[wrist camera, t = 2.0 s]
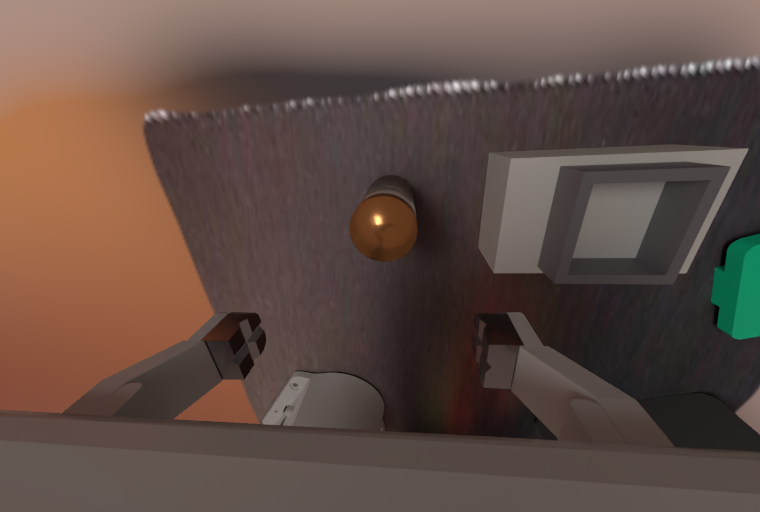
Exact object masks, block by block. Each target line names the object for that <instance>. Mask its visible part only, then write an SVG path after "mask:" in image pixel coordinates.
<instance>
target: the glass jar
mask: <svg viewBox="0 0 760 512" xmlns="http://www.w3.org/2000/svg"><path fill="white" fill-rule="evenodd" d="M417 231H418V229H417V219H416V210H415V201H414V194H413V190H412V188H411V186H410V185H409V184H408V182H407V181H405V180H404V179H403V178H401V177H398V176H394V175H387V176H383V177H380V178H379V179H377V180H376V181H375V182H374V183H373V184H372V185H371V187H370V188H369V190H368V191H367V193H366V194H365V196H364V198H363V199H362V201H361V202H360V204H359V205H358V207H357V208H356V210H355V212H354V213H353V215H352V218H351V221H350V236H351V239H352V241H353V243H354V245H355V247H356V248H357V249H358V250H359V251H360V252H361V253H362V254H363V255H365V256H366V257H368V258H370V259H373V260H376V261H392V260H396V259H398V258H401V257H402V256H404V255H405V254H406V253H408V252H409V251H410V249H411V248H412V247H413V245H414V243H415V241H416V238H417Z"/></svg>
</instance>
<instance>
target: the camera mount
mask: <svg viewBox="0 0 760 512" xmlns="http://www.w3.org/2000/svg"><path fill="white" fill-rule="evenodd" d="M711 302H712V303H713V304H715V305H717V306H719V307H720V308H719V315H718V323H717V327H718V328H719V329H720V330H722V331H724V332H725V333H727V334H728V335H730V336H731V337H733V338H735V339H746V338H751V337H757V336H760V234H756V235H752V236H749V237H745V238H741V239H738V240H736V241H734V242H733V243H732V244H731V245H730V246H729V247H728V249H727V255H726V262H725V266H720V267H716V268H715V273H714V281H713V290H712V299H711Z"/></svg>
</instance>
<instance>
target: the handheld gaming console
mask: <svg viewBox="0 0 760 512" xmlns="http://www.w3.org/2000/svg"><path fill="white" fill-rule="evenodd" d="M637 402H638V403H639V404H640V405H641V406H642V408H643V409H644V410H645V411H646V412H647V414H648V415H649V416H650V417H651V418H652V420H653V421H654V422H655V423H656V424H657V426H658V427H659V428H660V429H661V430H662V432H663V433H664V434H665V435H666V436H667V438H668V439H669V440H670V441H671V442H672V444H673V445H674V446H675V447H684V448H702V449H720V450H739V451H758V452H760V435H759V434H758V433H757V432H756V431H755V430H753V429H752V428H751V427H750V426H748V424H746V423H745V422H744V421H743V420H742V419H740V418H739V417H738V416H737V415H736V414H735V413H734V412H733V411H732V410H731V409H730V408H729V407H728V406H727V405H725V404H724V403H723V402H722V401H721V400H720V399H717V398H715V397H712V396H709V395H707V394H704V393H689V394H680V395H673V396H666V397H660V398H653V399H646V400H639V401H637ZM534 427H535V431H536V433H537V436H538V438H539V440H557V439H558V438H557V437H556V436H555V435H554V434H553V433H552V432H551V431H550V430H549V429H548V428H547V427H546V426H545V425H544V424H543V423H542V422H541V421H540V420H539V419H538V418H536V421H535V424H534Z"/></svg>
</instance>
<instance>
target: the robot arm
mask: <svg viewBox="0 0 760 512" xmlns="http://www.w3.org/2000/svg"><path fill="white" fill-rule="evenodd" d="M260 323H261V320H260V317H259V315H258V314H256V313H245V312H219V313H216V314H215V315H213V316H212V317H211V318H210V319H209V320H208V321H207V322H206V323H205V324H204V325H203V326H202V327H201V328H200V329H199V330H198V331H197V332H196V333H194V334H193V335H192V336H191V337H190V338H189V339H188V340H187V341H182V342H179V343H177V344H175V345H173V346H171V347H169V348H167V349H165V350H163V351H161V352H159V353H157V354H155V355H153V356H151V357H149V358H147V359H145V360H143V361H141V362H138V363H136V364H134V365H132V366H130V367H128V368H126V369H124V370H122V371H120V372H118V373H116V374H114V375H112V376H110V377H108V378H106V379H104V380H102V381H101V382H99V383H98V384H97V385H96V386H95V387H93V388H92V389H91V390H90V391H88V392H87V393H86V394H85V395H84V396H82V397H81V398H80V399H79V400H77V401H76V402H75V403H74V404H73V405H71V406H70V407H69V408H68V409H66V410H65V411H64V412H63V413H47V412H29V411H28V412H27V411H10V410H0V512H760V452H758V451H739V450H720V449H702V448H684V447H675V446H674V445H673V444H672V442H671V441H670V440H669V439H668V438H667V436H666V435H665V434H664V433H663V432H662V430H661V429H660V428H659V427H658V426H657V424H656V423H655V422H654V421H653V420H652V418H651V417H650V416H649V415H648V414H647V412H646V411H645V410H644V409H643V408H642V406H641V405H640V404H639V403H638V402H637V400H635V399H633V398H632V397H630V396H629V395H627V394H625V393H624V392H622V391H620V390H619V389H617V388H616V387H614V386H612V385H611V384H609V383H607V382H606V381H604V380H603V379H601V378H599V377H598V376H596V375H594V374H593V373H591V372H590V371H588V370H586V369H585V368H583V367H581V366H580V365H578V364H577V363H575V362H573V361H572V360H570V359H568V358H567V357H565V356H564V355H562V354H560V353H559V352H557V351H555V350H554V349H552V348H551V347H549V346H543V344H542V343H541V341H540V339H539V338H538V336H537V335H536V333H535V332H534V330H533V328H532V327H531V325H530V324H529V322H528V320H527V319H526V317H525V316H524V314H523V313H521V312H510V313H475V317H474V325H475V328H476V330H475V331H474V332H473V338H472V342H473V352H474V356H475V360H476V361H477V362H479V374H480V377H481V381H482V384H483V387H484V388H500V389H511V391H512V392H513V393H514V394H515V395H516V396H517V397H518V398H519V399H520V400H521V401H522V402H523V403H524V404H525V405H526V406H527V407H528V408H529V409H530V410H531V411H532V412H533V413H534V414H535V415H536V417H537V418H538V419H539V420H540V421H541V422H542V423H543V424H544V425H545V426H546V427H547V428H548V429H549V430H550V431H551V432H552V433H553V434H554V435H555V436H556V437H557V438H558V439H557V440H539V439H521V438H503V437H485V436H467V435H449V434H430V433H412V432H394V431H385V425H384V422H383V414H384V402H383V399H382V397H381V396H380V394H379V393H378V391H377V390H376V389H375V388H374V387H372V386H371V385H370V384H368V383H367V382H365V381H363V380H361V379H359V378H357V377H354V376H351V375H348V374H343V373H320V374H313V373H308V372H302V371H296V372H294V373H293V374H292V375H291V377H290V378H289V380H288V381H287V383H286V384H285V386H284V387H283V389H282V390H281V392H280V393H279V395H278V396H277V398H276V399H275V401H274V402H273V404H272V405H271V407H270V408H269V410H268V411H267V413H266V415H265V416H264V419H263V424H248V423H230V422H229V423H228V422H211V421H193V420H174V418H175V417H176V416H178V415H179V414H180V413H182V412H183V411H184V410H185V409H187V408H188V407H189V406H191V405H192V404H193V403H194V402H196V401H197V400H198V399H199V398H201V397H202V396H203V395H205V394H206V393H207V392H208V391H210V390H211V389H212V388H213V387H215V386H216V385H217V384H218V383H220V382H221V381H222V379H245V378H246V376H247V375H248V373H249V372H250V370H251V369H252V367H253V366H254V361H253V360H254V359H255V358H257V357H258V356H260V355H261V353H262V352H263V350H264V347H265V344H266V335H265V332H264V330H263V329H262V328H261V327H260V326H259V325H260Z"/></svg>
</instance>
